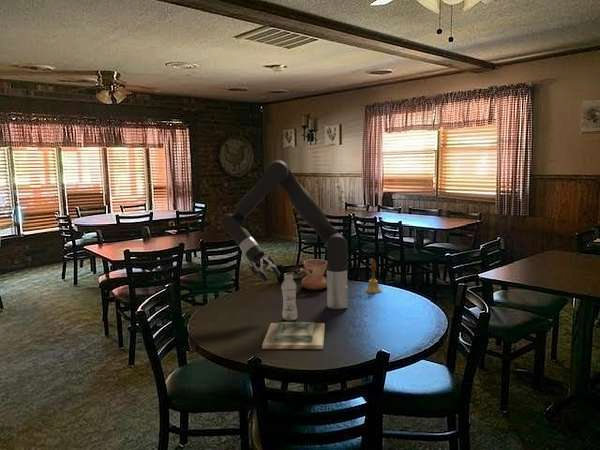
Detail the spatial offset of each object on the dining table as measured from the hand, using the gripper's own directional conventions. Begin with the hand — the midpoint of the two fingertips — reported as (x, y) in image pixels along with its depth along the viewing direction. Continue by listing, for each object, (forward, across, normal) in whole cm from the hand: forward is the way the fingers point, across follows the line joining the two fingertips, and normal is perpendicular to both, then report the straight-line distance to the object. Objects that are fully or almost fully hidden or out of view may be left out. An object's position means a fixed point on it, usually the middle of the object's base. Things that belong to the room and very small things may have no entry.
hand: (273, 278), depth 204 cm
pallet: (+27, -14, -3) cm, 31 cm away
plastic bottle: (+18, 0, +6) cm, 19 cm away
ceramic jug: (+7, +46, +18) cm, 50 cm away
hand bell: (+26, +55, -2) cm, 61 cm away
